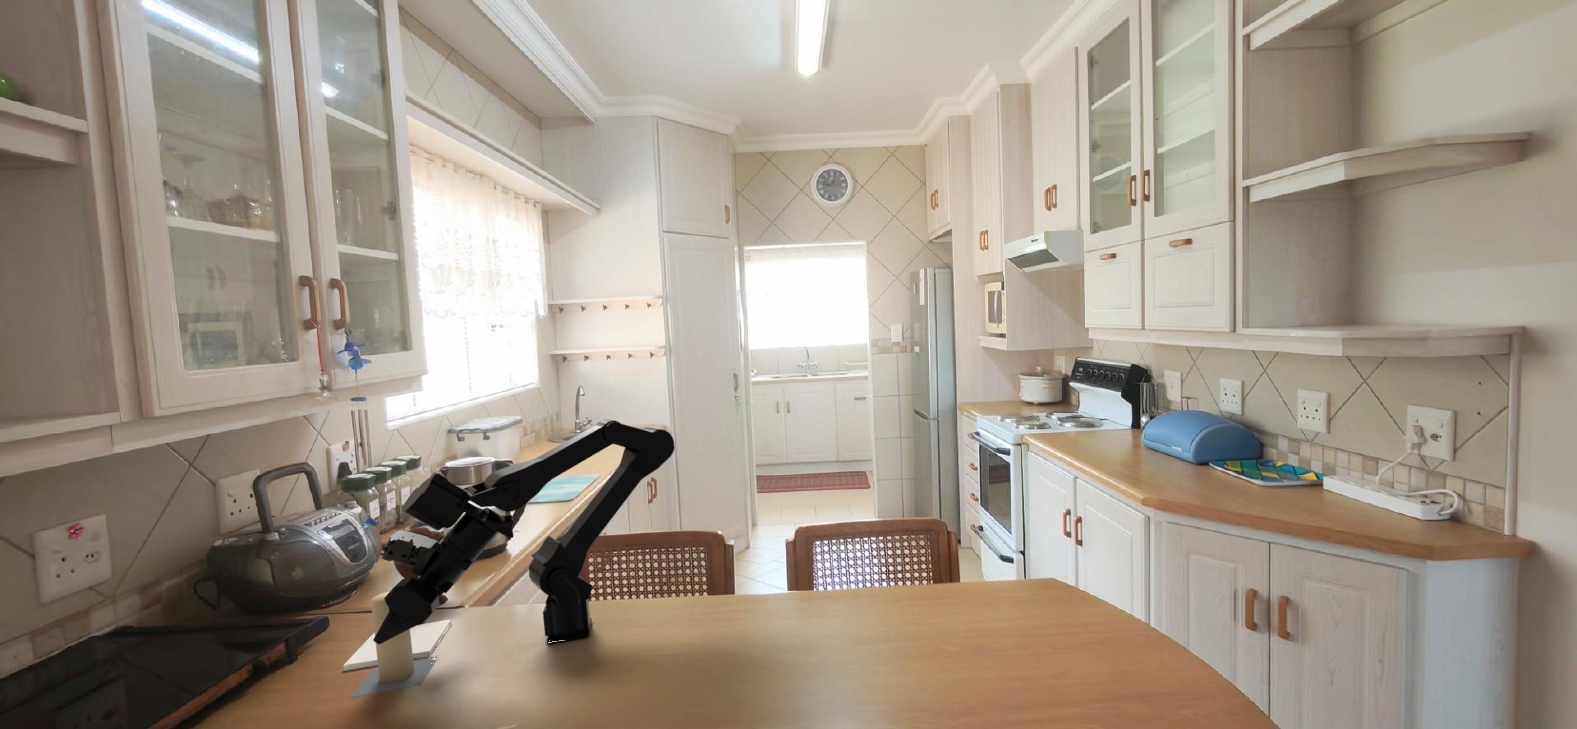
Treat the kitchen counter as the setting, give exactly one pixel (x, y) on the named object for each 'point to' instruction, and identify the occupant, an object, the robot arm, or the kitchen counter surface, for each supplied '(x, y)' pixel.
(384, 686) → the mat
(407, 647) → the tan tapered rounded piece
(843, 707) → the kitchen counter surface
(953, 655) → the kitchen counter surface
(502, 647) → the kitchen counter surface
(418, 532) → the ice cream bowl
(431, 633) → the cutting board
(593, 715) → the kitchen counter surface
